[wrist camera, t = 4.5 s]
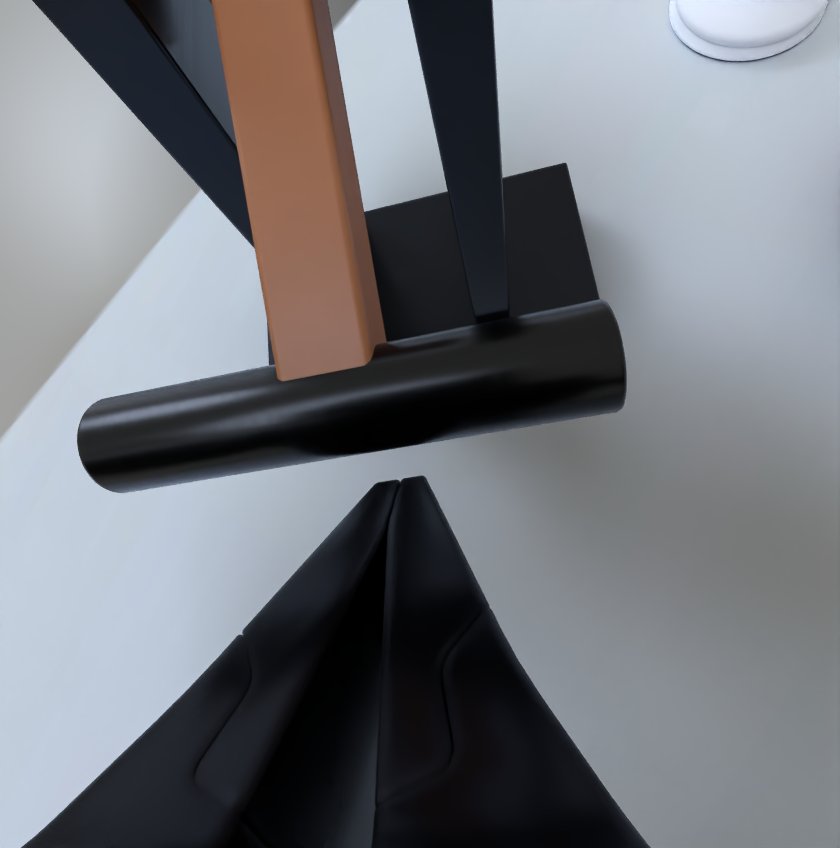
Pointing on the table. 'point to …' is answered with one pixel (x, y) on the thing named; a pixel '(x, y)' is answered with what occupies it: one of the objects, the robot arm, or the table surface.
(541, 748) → the robot arm
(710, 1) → the chess piece
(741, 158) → the table surface
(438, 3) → the stand
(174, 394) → the brown black t-shaped piece
